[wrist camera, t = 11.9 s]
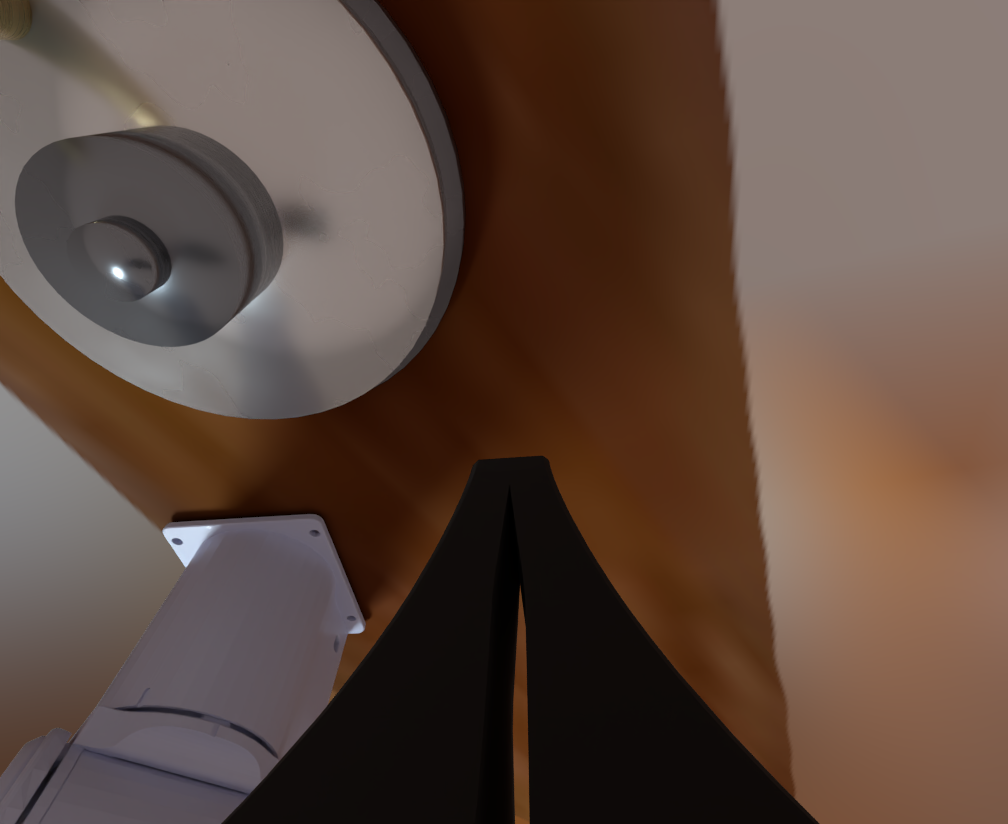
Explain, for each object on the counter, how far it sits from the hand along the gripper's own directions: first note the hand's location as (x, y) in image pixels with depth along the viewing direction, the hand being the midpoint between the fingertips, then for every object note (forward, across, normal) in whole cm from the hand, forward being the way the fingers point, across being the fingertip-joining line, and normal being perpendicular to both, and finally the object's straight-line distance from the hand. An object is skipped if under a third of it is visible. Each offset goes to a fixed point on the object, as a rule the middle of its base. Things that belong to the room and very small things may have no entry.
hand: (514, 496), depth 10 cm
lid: (+8, +9, -4) cm, 13 cm away
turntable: (+9, +9, -4) cm, 13 cm away
